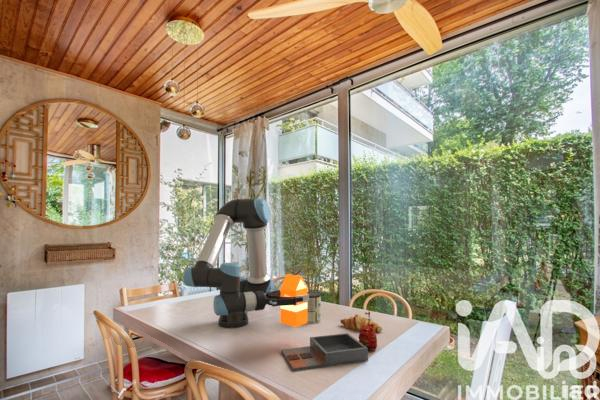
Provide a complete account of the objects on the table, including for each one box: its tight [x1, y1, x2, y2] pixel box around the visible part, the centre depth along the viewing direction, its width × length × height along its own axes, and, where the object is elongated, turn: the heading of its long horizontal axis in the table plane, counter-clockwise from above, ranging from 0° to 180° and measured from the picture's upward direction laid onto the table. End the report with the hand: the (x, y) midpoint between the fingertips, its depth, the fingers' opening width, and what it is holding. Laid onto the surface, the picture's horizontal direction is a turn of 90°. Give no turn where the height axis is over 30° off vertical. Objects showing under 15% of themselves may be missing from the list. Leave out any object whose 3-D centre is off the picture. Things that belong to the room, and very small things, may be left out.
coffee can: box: [306, 291, 322, 325], centre depth 163 cm, size 10×10×14 cm
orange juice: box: [280, 273, 308, 328], centre depth 131 cm, size 8×9×20 cm
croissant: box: [340, 314, 383, 333], centre depth 150 cm, size 21×10×8 cm
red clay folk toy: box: [358, 310, 378, 352], centre depth 126 cm, size 8×7×15 cm
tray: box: [281, 332, 369, 372], centre depth 118 cm, size 29×17×4 cm, turn 107°
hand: (302, 295), depth 133 cm, fingers closed on orange juice, 10 cm apart
